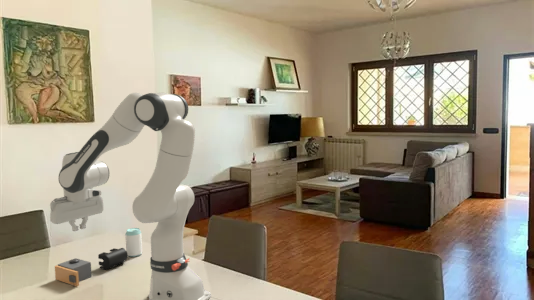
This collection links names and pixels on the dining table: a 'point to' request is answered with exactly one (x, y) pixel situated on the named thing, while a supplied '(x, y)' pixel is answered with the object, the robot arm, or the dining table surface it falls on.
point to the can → (133, 242)
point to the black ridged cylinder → (112, 258)
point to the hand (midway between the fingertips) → (79, 229)
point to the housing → (78, 267)
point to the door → (66, 275)
